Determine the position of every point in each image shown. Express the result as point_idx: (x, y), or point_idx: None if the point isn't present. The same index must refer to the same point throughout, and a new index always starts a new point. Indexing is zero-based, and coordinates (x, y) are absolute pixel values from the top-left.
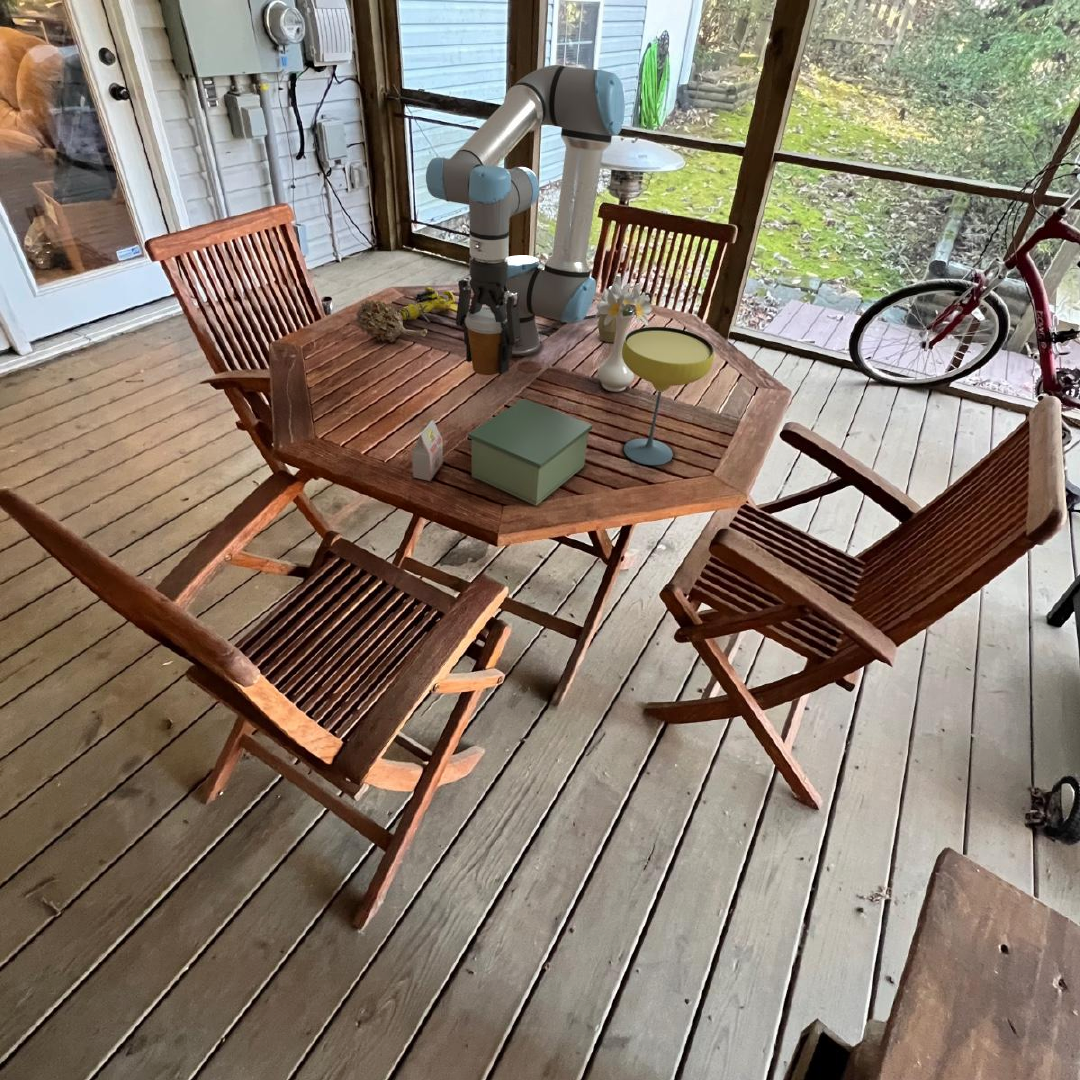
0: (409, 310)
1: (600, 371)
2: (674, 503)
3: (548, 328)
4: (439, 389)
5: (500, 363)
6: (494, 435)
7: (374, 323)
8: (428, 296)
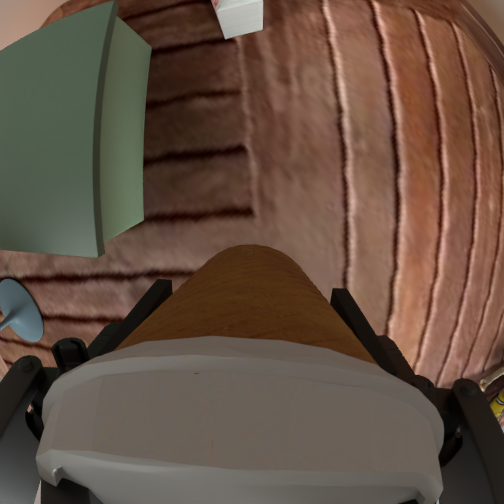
0: (499, 407)
1: None
2: None
3: None
4: (412, 289)
5: (146, 301)
6: (59, 44)
7: None
8: None
